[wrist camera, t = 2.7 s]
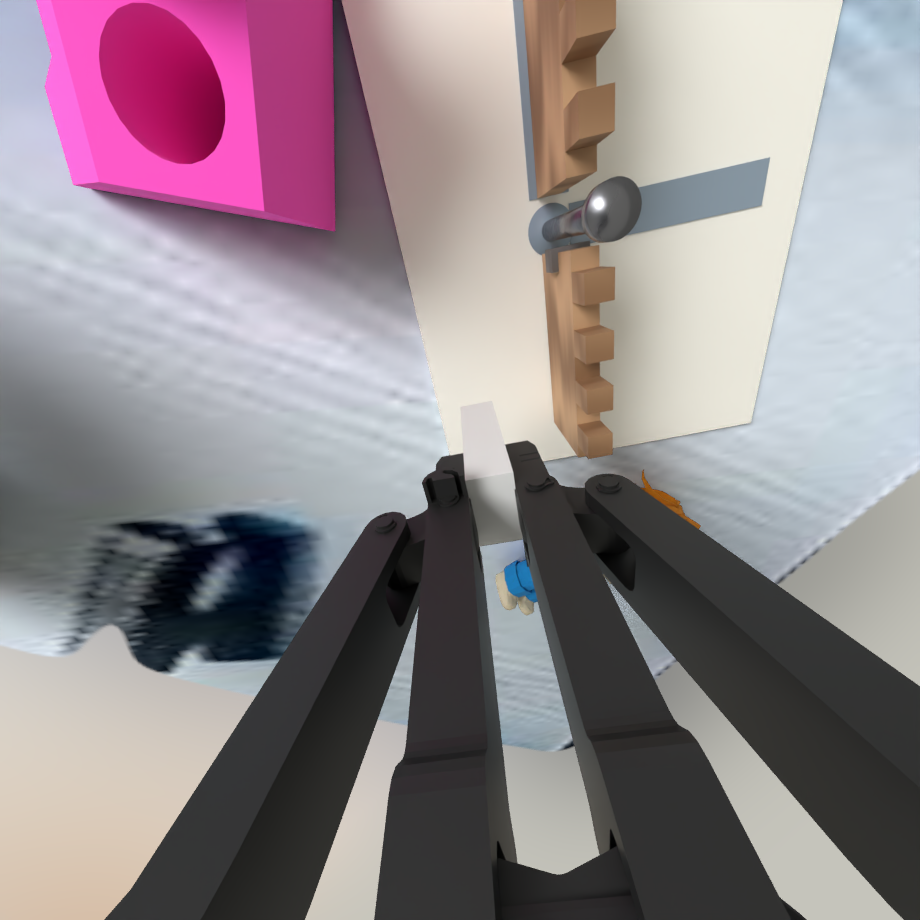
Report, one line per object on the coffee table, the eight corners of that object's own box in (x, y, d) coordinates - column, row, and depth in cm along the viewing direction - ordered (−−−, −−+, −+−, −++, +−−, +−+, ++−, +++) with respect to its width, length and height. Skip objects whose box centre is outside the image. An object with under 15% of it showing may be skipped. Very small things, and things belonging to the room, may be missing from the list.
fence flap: (536, 251, 19) (575, 245, 13) (569, 243, 19) (623, 234, 13) (549, 423, 24) (582, 473, 18) (576, 418, 24) (618, 467, 18)
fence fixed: (560, 193, 18) (614, 160, 12) (537, 198, 18) (579, 168, 12) (544, -130, 13) (621, -430, 8) (513, -121, 13) (565, -410, 8)
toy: (479, 617, 24) (704, 518, 19) (461, 538, 28) (644, 436, 23) (553, 633, 33) (726, 567, 27) (531, 570, 36) (679, 501, 31)
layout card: (455, 475, 26) (455, 478, 26) (292, -213, 13) (287, -229, 12) (746, 420, 25) (751, 423, 25) (921, -411, 11) (940, -437, 11)
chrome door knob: (535, 253, 19) (587, 247, 12) (532, 214, 19) (586, 183, 11) (568, 246, 19) (640, 235, 12) (566, 206, 18) (642, 170, 11)
